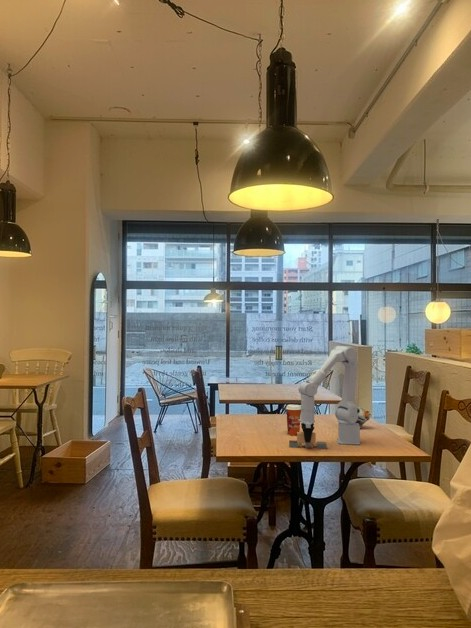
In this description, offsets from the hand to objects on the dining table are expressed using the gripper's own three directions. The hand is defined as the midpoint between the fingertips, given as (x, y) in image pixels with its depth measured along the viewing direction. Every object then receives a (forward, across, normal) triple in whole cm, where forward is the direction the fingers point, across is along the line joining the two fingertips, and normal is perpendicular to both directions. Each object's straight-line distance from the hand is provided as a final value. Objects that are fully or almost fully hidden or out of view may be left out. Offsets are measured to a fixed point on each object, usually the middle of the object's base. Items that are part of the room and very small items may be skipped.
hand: (307, 441), depth 190 cm
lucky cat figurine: (+3, -44, +26) cm, 51 cm away
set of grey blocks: (+2, 0, 0) cm, 2 cm away
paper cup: (+3, -22, -6) cm, 23 cm away
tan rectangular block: (+2, 0, -1) cm, 3 cm away
